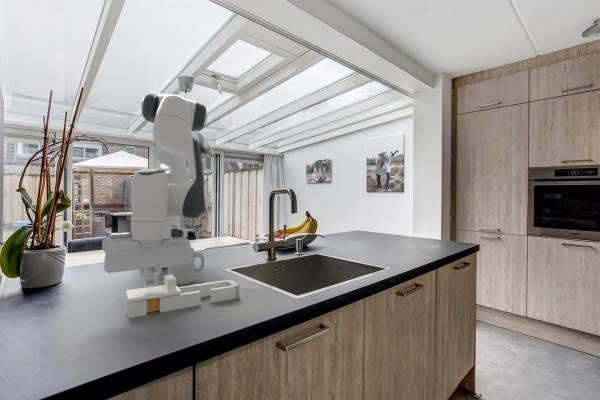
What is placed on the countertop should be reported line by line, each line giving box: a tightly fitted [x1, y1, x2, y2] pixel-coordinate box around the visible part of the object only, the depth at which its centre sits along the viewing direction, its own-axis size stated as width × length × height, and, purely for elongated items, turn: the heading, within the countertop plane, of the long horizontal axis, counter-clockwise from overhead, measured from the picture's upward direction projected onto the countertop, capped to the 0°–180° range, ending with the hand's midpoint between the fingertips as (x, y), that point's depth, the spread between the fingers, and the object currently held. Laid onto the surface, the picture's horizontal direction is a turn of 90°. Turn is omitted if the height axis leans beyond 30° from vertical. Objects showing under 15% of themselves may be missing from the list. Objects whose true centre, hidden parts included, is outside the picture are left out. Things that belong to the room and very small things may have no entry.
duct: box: [127, 279, 240, 319], centre depth 84 cm, size 7×28×4 cm, turn 123°
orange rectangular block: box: [147, 298, 159, 313], centre depth 79 cm, size 3×9×3 cm, turn 123°
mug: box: [167, 247, 205, 286], centre depth 105 cm, size 12×8×11 cm
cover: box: [125, 274, 181, 303], centre depth 79 cm, size 8×12×4 cm, turn 123°
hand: (150, 285), depth 79 cm, fingers closed
